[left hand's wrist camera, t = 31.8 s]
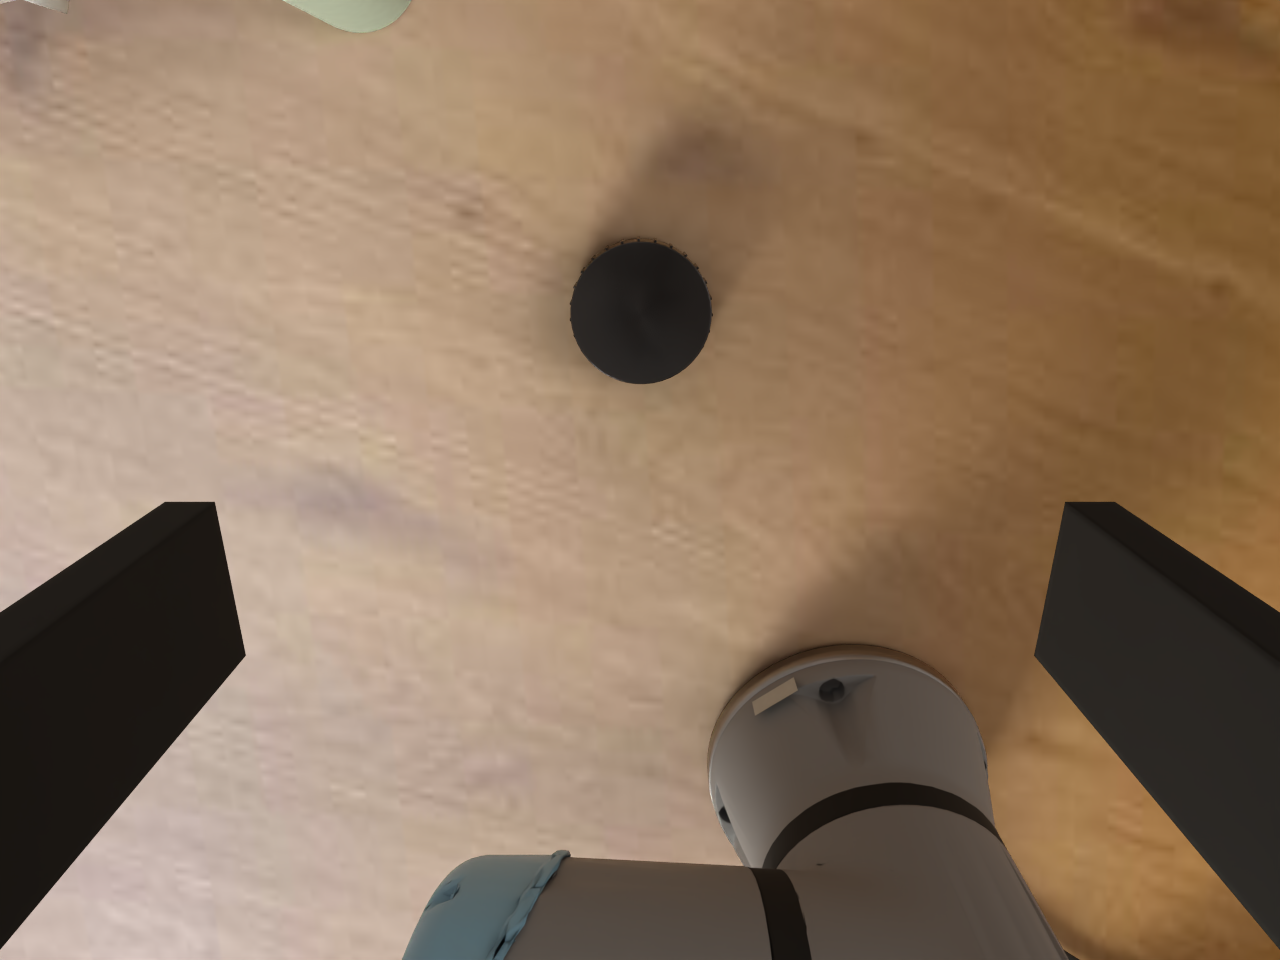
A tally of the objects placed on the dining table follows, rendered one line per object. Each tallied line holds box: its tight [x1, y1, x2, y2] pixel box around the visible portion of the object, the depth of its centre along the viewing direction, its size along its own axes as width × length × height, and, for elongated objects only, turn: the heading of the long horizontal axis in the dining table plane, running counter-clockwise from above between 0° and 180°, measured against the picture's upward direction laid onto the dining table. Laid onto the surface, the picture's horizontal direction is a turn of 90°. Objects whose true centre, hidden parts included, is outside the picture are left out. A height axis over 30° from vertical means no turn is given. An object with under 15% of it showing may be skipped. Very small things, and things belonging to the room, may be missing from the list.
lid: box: [570, 237, 713, 384], centre depth 36 cm, size 6×6×2 cm
